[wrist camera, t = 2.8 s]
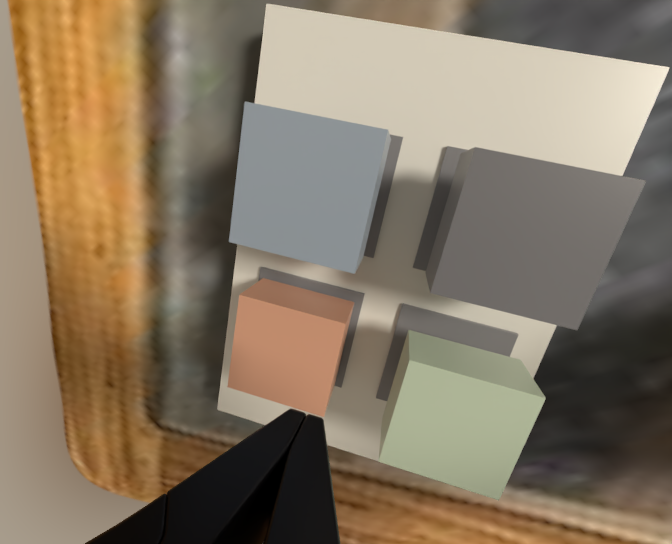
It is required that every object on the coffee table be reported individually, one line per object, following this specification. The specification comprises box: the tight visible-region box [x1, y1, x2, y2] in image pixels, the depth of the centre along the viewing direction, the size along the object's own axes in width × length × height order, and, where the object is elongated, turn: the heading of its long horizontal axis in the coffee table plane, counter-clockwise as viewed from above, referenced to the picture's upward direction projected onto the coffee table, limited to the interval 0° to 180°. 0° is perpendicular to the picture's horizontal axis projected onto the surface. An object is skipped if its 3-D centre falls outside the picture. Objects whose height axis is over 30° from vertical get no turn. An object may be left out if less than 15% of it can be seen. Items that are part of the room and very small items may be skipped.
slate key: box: [229, 102, 391, 274], centre depth 12 cm, size 4×4×2 cm
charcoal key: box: [425, 147, 646, 330], centre depth 11 cm, size 4×4×2 cm
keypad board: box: [217, 4, 669, 461], centre depth 17 cm, size 15×20×2 cm
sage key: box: [378, 330, 546, 500], centre depth 13 cm, size 4×4×2 cm
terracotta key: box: [227, 278, 354, 417], centre depth 15 cm, size 4×4×2 cm
